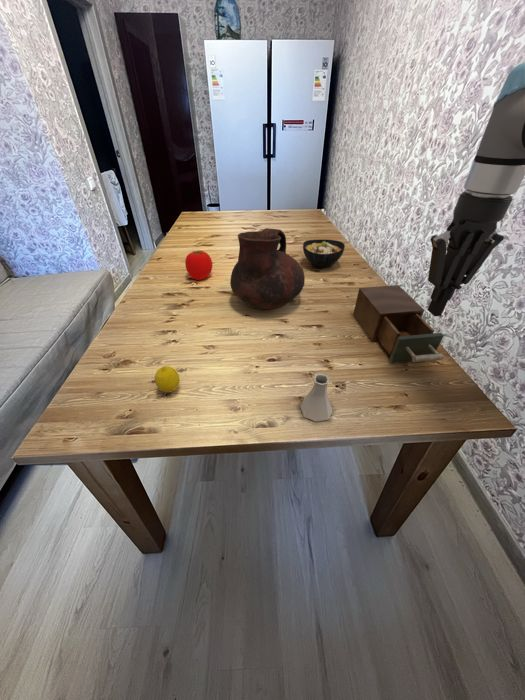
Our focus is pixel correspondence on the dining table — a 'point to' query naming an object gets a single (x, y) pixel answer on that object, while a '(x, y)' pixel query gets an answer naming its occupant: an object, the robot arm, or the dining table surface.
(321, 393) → the flask
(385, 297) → the cabinet
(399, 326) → the drawer
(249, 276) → the jug
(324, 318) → the dining table surface
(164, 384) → the fruit
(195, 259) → the tomato
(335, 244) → the bowl
